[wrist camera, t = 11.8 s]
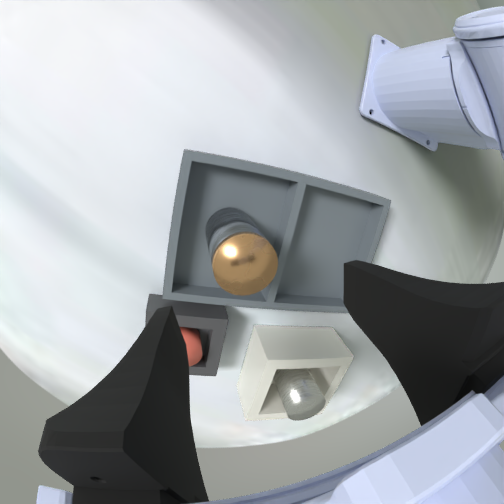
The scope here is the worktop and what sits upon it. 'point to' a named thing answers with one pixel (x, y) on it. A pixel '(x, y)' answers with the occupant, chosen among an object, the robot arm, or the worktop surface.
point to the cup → (288, 365)
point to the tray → (271, 232)
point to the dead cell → (299, 393)
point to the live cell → (239, 252)
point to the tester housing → (198, 328)
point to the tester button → (192, 344)
